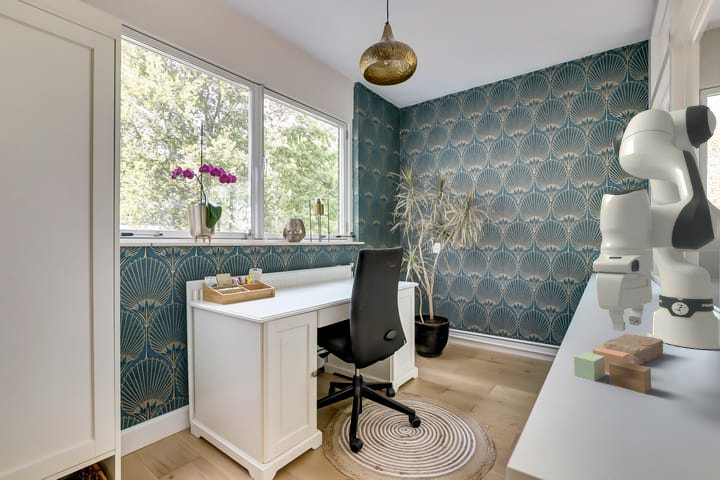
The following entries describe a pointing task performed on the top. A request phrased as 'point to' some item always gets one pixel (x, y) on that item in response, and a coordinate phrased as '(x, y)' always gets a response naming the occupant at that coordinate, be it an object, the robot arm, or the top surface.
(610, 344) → the brick
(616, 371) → the walnut block
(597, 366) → the sage block
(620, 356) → the terracotta block
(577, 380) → the top surface
